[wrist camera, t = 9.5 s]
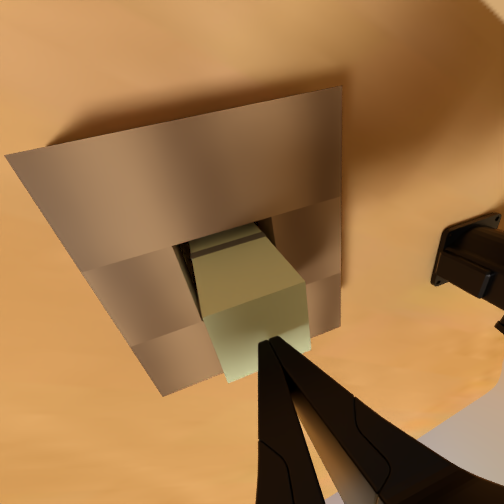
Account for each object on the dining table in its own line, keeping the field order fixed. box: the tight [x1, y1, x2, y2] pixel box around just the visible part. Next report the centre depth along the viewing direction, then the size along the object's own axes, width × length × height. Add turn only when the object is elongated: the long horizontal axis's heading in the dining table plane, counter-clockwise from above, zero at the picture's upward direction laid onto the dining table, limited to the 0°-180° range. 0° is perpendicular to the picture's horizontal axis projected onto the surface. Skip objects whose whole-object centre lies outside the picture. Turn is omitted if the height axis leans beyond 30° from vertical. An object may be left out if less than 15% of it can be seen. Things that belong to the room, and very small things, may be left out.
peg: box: [189, 222, 311, 383], centre depth 13 cm, size 4×4×8 cm
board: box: [4, 86, 342, 397], centre depth 15 cm, size 14×16×3 cm
